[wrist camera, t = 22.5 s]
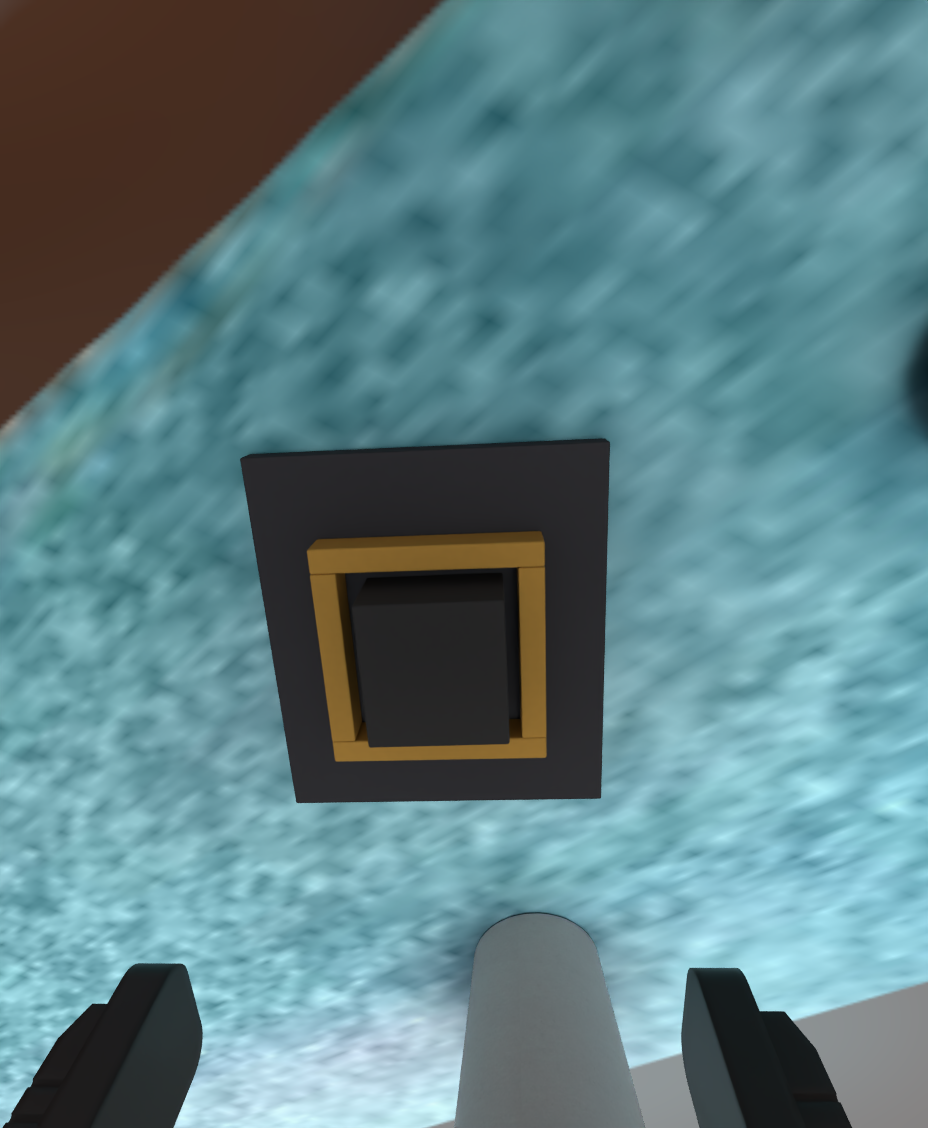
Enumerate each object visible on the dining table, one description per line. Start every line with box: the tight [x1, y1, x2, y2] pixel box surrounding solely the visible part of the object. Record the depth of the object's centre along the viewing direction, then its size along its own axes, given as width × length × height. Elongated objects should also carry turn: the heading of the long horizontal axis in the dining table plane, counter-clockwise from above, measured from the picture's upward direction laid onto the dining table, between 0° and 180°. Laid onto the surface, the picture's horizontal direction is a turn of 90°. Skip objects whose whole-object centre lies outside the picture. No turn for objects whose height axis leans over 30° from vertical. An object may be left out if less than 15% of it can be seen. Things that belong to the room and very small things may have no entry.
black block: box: [352, 573, 510, 748], centre depth 25 cm, size 6×6×3 cm
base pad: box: [240, 439, 610, 803], centre depth 26 cm, size 16×14×2 cm
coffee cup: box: [454, 913, 645, 1128], centre depth 26 cm, size 10×10×15 cm
